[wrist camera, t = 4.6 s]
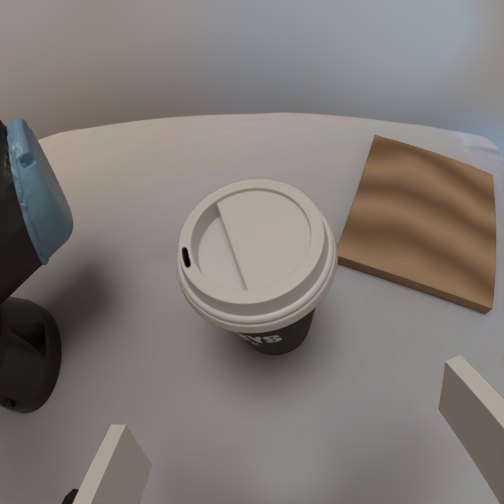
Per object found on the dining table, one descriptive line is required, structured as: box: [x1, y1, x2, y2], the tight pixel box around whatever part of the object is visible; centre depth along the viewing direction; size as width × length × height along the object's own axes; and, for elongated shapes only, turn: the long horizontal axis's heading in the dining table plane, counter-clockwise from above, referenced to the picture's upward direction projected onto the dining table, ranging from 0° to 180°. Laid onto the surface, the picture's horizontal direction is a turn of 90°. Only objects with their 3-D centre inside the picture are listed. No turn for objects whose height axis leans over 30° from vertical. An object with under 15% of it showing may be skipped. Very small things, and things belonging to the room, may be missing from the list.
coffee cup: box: [177, 179, 338, 355], centre depth 23 cm, size 10×10×15 cm
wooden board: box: [337, 135, 496, 314], centre depth 32 cm, size 20×18×2 cm
